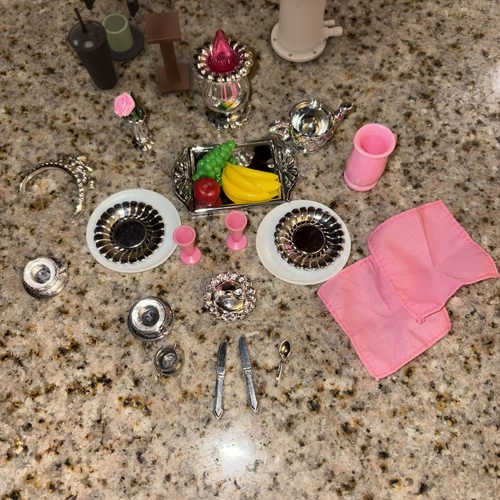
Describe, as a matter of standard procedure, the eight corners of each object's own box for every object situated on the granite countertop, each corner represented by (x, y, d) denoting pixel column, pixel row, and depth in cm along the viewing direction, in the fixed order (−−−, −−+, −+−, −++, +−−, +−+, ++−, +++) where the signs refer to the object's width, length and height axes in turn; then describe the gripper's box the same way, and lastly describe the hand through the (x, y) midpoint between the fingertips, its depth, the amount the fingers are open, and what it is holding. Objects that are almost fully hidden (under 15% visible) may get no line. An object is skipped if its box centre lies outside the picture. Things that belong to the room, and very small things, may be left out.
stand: (187, 67, 110) (177, 10, 95) (190, 91, 108) (180, 37, 93) (159, 70, 110) (144, 14, 94) (161, 94, 107) (146, 40, 92)
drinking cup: (121, 95, 107) (94, 26, 88) (87, 95, 107) (51, 25, 89) (125, 67, 110) (99, -7, 91) (91, 66, 110) (58, -7, 91)
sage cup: (132, 31, 113) (126, 11, 107) (134, 50, 111) (128, 31, 106) (108, 33, 113) (101, 14, 107) (109, 53, 111) (102, 34, 105)
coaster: (142, 23, 114) (142, 22, 114) (145, 58, 111) (145, 57, 110) (99, 28, 114) (98, 27, 113) (101, 63, 110) (100, 62, 110)
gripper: (137, -77, 87) (157, 1, 103) (47, -91, 89) (81, -12, 105) (124, -46, 84) (146, 29, 101) (31, -61, 86) (68, 15, 103)
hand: (113, 8), depth 103 cm, fingers open, 9 cm apart
